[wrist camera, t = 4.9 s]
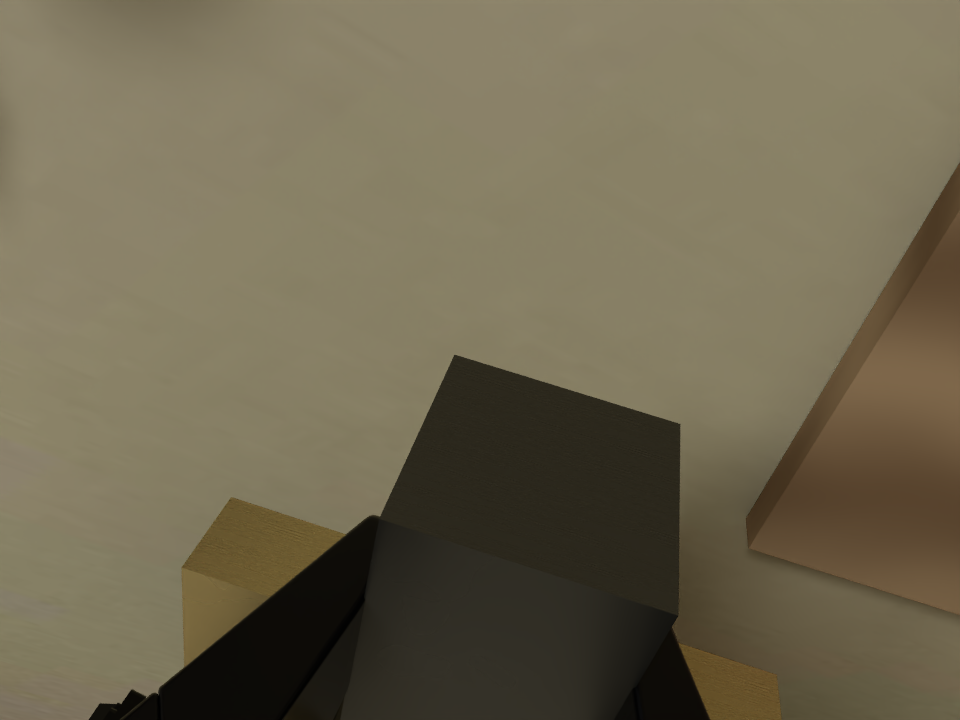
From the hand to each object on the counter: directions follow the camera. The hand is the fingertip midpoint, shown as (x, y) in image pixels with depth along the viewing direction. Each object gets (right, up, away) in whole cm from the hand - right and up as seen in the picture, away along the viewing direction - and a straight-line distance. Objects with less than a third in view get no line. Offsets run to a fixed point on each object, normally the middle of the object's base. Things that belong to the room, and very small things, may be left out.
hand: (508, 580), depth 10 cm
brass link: (-1, -3, +4) cm, 5 cm away
